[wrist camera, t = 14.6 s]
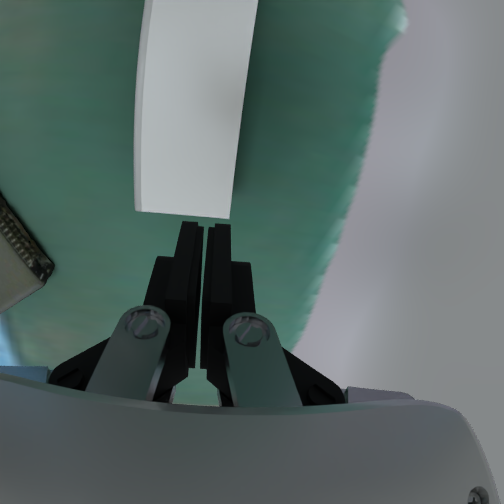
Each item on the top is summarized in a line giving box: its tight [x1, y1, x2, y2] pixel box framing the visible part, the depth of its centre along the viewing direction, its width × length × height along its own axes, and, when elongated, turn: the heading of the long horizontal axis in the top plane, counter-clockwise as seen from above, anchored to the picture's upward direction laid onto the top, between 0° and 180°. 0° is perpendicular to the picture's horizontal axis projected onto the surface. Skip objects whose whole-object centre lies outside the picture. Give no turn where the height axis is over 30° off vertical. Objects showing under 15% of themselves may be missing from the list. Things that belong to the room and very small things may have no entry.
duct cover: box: [134, 0, 258, 219], centre depth 22 cm, size 24×9×1 cm, turn 172°
